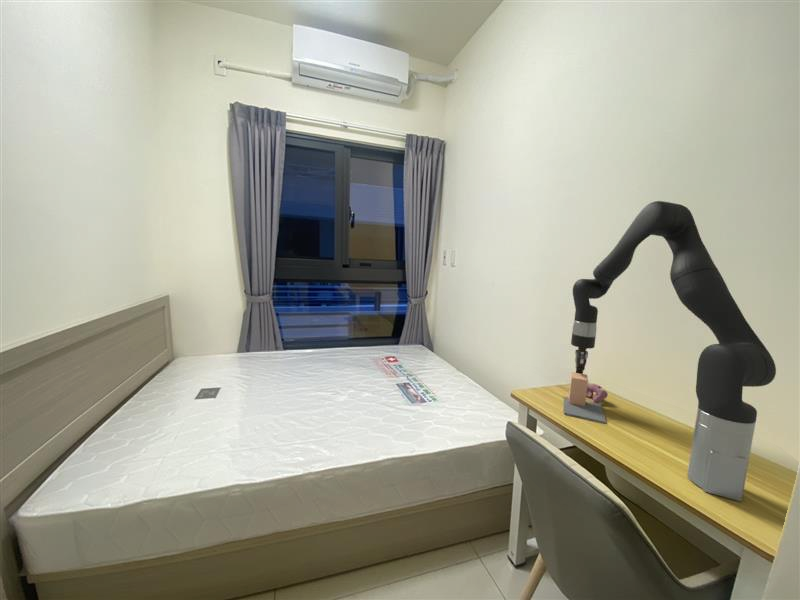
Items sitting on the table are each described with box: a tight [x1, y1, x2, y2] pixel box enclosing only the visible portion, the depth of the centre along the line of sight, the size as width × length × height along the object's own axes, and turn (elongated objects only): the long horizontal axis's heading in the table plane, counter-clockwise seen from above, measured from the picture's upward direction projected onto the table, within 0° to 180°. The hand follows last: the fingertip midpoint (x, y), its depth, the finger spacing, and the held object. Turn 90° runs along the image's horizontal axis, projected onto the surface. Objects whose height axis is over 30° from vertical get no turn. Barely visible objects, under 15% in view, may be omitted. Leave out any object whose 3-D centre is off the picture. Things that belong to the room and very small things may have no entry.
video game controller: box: [586, 381, 608, 404], centre depth 122 cm, size 10×5×7 cm, turn 12°
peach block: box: [568, 372, 589, 407], centre depth 116 cm, size 5×5×10 cm
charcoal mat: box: [563, 396, 607, 424], centre depth 112 cm, size 16×12×1 cm
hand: (578, 379), depth 119 cm, fingers closed
